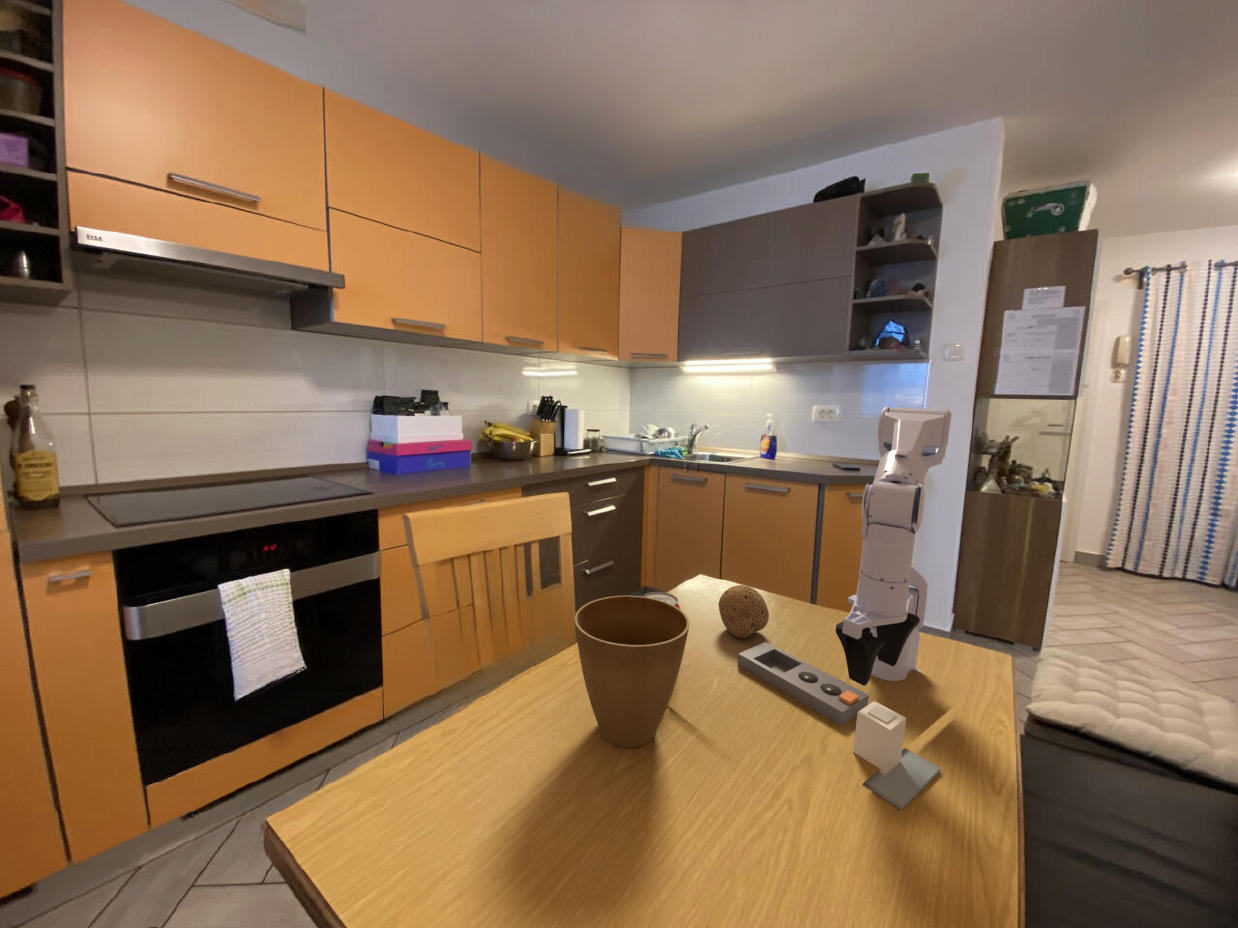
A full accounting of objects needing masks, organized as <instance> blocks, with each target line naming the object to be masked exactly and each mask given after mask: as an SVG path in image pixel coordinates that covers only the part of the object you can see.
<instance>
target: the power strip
mask: <svg viewBox="0 0 1238 928" xmlns="http://www.w3.org/2000/svg"><path fill="white" fill-rule="evenodd" d="M737 656H738V657H737V666H739V667H740V668H741V669H742V670H745V671H747V672H748V673H750V674H752V675H754V676H755V677H757V678H759V679H760V680H762V681H763V682H765V683H767V684H769V685H771V686H772V687H774V688H775V689H778V690H779V691H781V692H783V693H785V694H786V695H788V696H789V697H791V698H793V699H795V700H796V701H798V702H799V703H801V704H802V705H804V706H806V707H808V708H810V709H811V710H813V711H815V712H816V713H818V714H820V715H822V716H823V717H824V718H827V719H828V720H829V721H832V722H833V723H835V724H836V725H839V726H840V727H842V726H844V724H846V723H848V722H849V721H850V720H852V719H854V718H855V717H857V714H858V711H860V710H861V709H863V708H864V707H866V706H867V705H869V697H870V694H868V693H867V692H864V691H863V690H860V689H859V688H856V687H854V686H853V685H851V684H850V683H846V682H845V681H843V680H841V679H839V678H837V677H835V676H833V675H831V674H829V673H827V672H825V671H823V670H822V669H819V668H817V667H816V666H813V665H812V664H810V663H807V662H806V661H804V660H802V659H800V658H798V657H796V656H794V655H792V654H791V653H789V652H786V651H784V650H782V649H780V648H778V647H777V646H774V645H773V644H771V643H769V642H767V641H764V642H761V643H760V644H758V645H755V646H753V647H751V648H748V649H745V650H743V651H741V652H739V653H738V655H737Z"/></svg>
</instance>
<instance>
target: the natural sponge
mask: <svg viewBox="0 0 1238 928" xmlns="http://www.w3.org/2000/svg"><path fill="white" fill-rule="evenodd" d="M718 611H719V615H720V618H721V620H722V623H723V625H724V628H725V629H726V630H727V631H728V632H729V634H731V636H733V637H735V638H737V639H746V638H748V637H749V636H751V635H752V634H755V633H756V632H759V631H761V630H763V629H764V628H766V626H767V625H768V622H769V620H770V619H769V617H770V613H769V610H768V606H767V603H766V601H765V600H764V598H763V595H762V594H760V593H759V592H758V590H756V589H754V588H753V587H752V586H748V585H745V584H739V585H733V586H731V587H728V588H727V590H725V591H724V592H723V593H722V594H721V596H720V598H719V599H718Z"/></svg>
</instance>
